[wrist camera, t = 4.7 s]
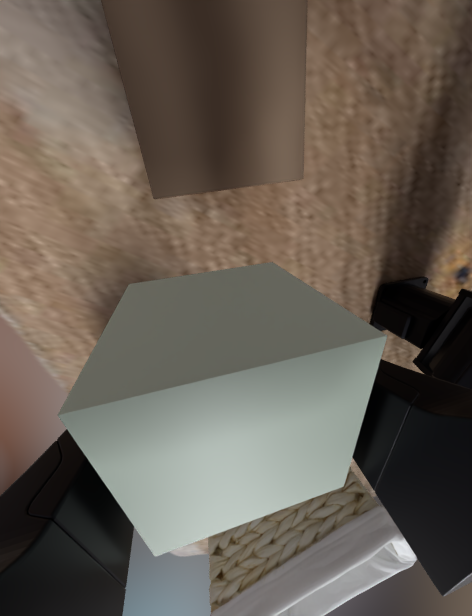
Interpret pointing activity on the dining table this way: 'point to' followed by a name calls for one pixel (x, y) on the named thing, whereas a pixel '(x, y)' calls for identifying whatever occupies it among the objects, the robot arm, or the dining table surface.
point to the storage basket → (306, 556)
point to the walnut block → (214, 90)
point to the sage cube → (222, 400)
